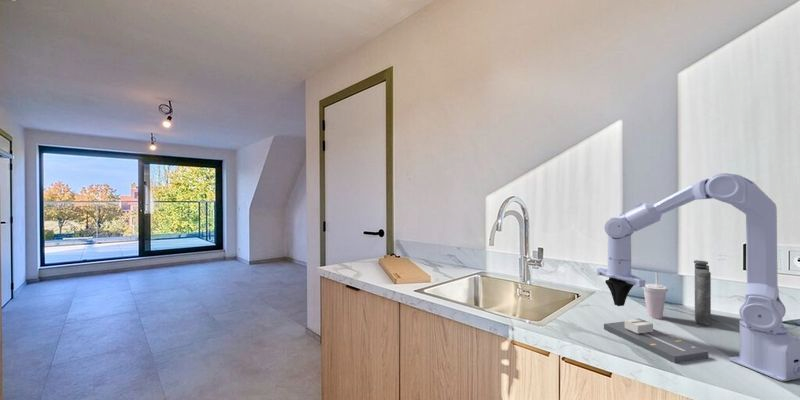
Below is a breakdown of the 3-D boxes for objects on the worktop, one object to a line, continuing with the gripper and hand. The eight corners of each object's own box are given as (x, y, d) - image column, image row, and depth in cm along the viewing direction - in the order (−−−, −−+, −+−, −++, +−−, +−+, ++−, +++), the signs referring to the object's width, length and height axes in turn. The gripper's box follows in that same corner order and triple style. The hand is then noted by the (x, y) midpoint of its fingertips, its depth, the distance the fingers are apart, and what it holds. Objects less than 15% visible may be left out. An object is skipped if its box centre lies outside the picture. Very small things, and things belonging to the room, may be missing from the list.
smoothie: (672, 321, 101) (672, 275, 101) (648, 319, 102) (648, 274, 102) (660, 313, 107) (660, 270, 107) (638, 312, 109) (638, 270, 108)
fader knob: (652, 331, 89) (652, 323, 89) (637, 333, 88) (637, 325, 88) (639, 326, 93) (639, 318, 93) (624, 327, 92) (624, 319, 92)
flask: (694, 324, 98) (693, 264, 98) (693, 311, 109) (693, 256, 109) (710, 327, 96) (710, 265, 96) (709, 313, 107) (709, 258, 106)
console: (708, 357, 79) (708, 351, 78) (674, 362, 76) (674, 356, 76) (632, 325, 98) (632, 320, 98) (603, 328, 96) (603, 323, 96)
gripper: (588, 255, 102) (588, 298, 103) (630, 264, 88) (630, 315, 88) (607, 253, 104) (607, 296, 104) (651, 263, 90) (651, 312, 90)
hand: (619, 305), depth 96 cm, fingers closed
